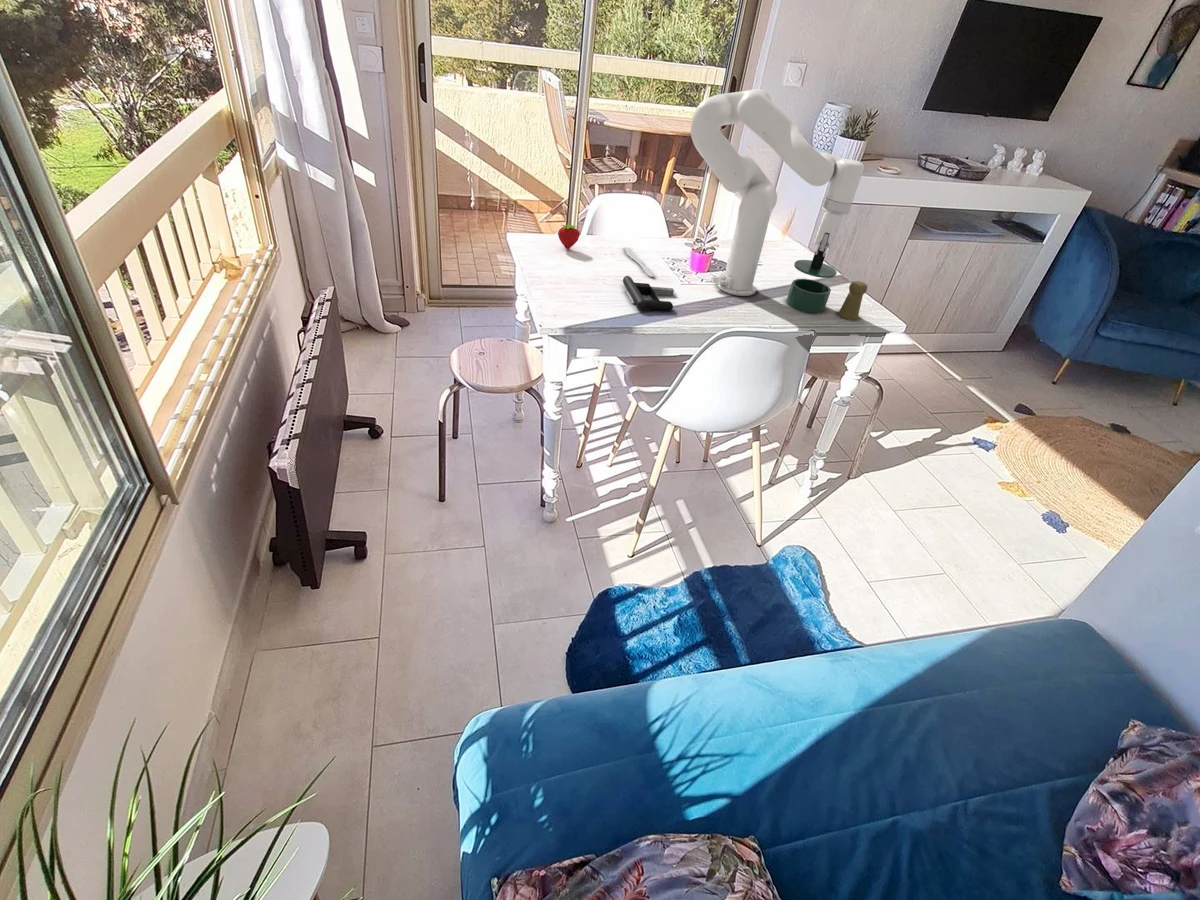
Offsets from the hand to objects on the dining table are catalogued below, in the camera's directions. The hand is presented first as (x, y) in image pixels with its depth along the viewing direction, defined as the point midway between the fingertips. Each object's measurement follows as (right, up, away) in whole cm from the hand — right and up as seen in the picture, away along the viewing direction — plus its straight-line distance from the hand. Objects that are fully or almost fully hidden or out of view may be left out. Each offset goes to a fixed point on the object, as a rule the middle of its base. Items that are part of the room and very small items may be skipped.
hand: (816, 266), depth 194 cm
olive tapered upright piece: (+12, -15, +4) cm, 19 cm away
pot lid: (0, -1, +1) cm, 1 cm away
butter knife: (-54, +8, +23) cm, 59 cm away
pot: (-1, -10, +8) cm, 13 cm away
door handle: (-51, -10, -1) cm, 52 cm away
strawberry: (-78, +13, +26) cm, 83 cm away
